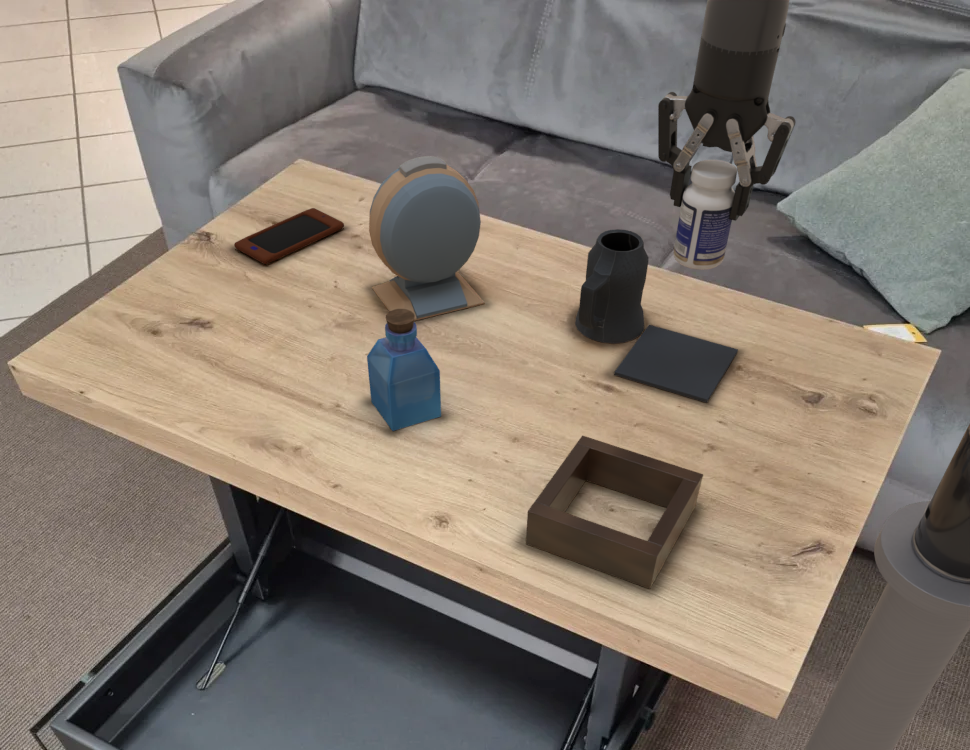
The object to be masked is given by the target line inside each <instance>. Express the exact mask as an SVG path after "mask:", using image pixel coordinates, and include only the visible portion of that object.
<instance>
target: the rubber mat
mask: <svg viewBox="0 0 970 750" xmlns="http://www.w3.org/2000/svg"><path fill="white" fill-rule="evenodd" d="M738 352H739V349H738V348H735V347H731V346H727V345H724V344H722V343H721V344H720V343H717V342H713V341H710V340H706V339H702V338H699V337H695V336H692V335H688V334H685V333H682V332H679V331H678V332H677V331H674V330H670V329H667V328H663V327H660V326H657V325H653V324H648V325H647V327H646V328H644V330H643V332H642V334H641V335H640V336H639V337H638V339H637V340H636V342H635V343H634V345H632V347H631V348H630V350H629V351H628V352H627V354H626V355H625V356H624V358H623V360H622V361H621V362H620V363H619V365H618V366H617V368H615V370H614V372H613V376H616V377H619V378H622V379H625V380H629V381H633V382H635V383H639V384H642V385H646V386H649V387H651V388H652V387H653V388H655V389H659V390H662V391H666V392H669V393H673V394H676V395H678V396H682V397H684V398H685V397H686V398H689V399H692V400H696V401H699V402H702V403H706V404H708V402H709V400H710V399H711V397H712V396H713V394H714V392H715V391H716V389H717V387H718V386H719V384H720V382H721V381H722V379H723V377H724V375H725V374H726V373H727V371H728V369H729V368H730V366H731V365H732V362H733V360H735V358H736V356H737V354H738Z"/></svg>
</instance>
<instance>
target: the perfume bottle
mask: <svg viewBox="0 0 970 750" xmlns="http://www.w3.org/2000/svg"><path fill="white" fill-rule="evenodd" d="M414 318H415V315H414V313H413V312H412V311H410V310H407V309H394V310H391V311H389V310H388V312H387V313H386V314H385V321H386V323H385V324H384V332H385V334H384V335H385V337H381V338H378V339H377V340H376V342H375V343H374V345H372V348H370V350H369V352H368V354H367V355H366V362H367V372H368V383H369V392H370V402H371V404H372V405H373V407H374V408H375V410H376V411H377V412H378V413H379V415H380V416H381V418H382V419H383V420H384V422H385V423H386V425H387V426H388V427H389V429H390V430H391V431H392V432H395V431H398V430H402V429H404V428H408V427H411V426H415V425H418V424H421V423H424V422H428V421H431V420H434V419H437V418H441V417H442V400H441V370H440V368H439V366H438V365H437V364H436V362H435V361H434V359H433V357H432V356H431V354H430V353H429V351H428V350H427V348H426V346H425V345H424V344H423V343H422V342H421V341H420V340H419V338H418V337H417V336H418V329H417V328H418V327H417V326H418V325H417V323H416V322H415V321H414Z"/></svg>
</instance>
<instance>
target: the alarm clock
mask: <svg viewBox="0 0 970 750" xmlns="http://www.w3.org/2000/svg"><path fill="white" fill-rule="evenodd" d="M398 166H399V167H398V168H397V169H395V170H394V171H392V172H390V174H388V175H387V176H386V178H385V179H384V180H383V181H382V182H381V184H380V185H379V187H378V189H377V190H376V192H375V194H374V196H373V198H372V201H371V205H370V208H369V220H368V221H369V222H368V227H369V228H368V232H369V237H370V242H371V246H372V247H373V249H374V251H375V253H376V255H377V257H378V258H379V260H381V262H382V263H383V264H384V266H385V267H387V269H388V270H389V271H390V272H391V273H392V274H393V275H395V276H394V277H392V278H391V279H389V280H388V281H386V282H384V283H380V284H376V285H373V286H371V289H372V290H373V292H374V293H375V294H376V296H377V297H378V299H379V300H380V301H381V302H382V304H383V305H384V307H385V308H386V309H387V310H388V312H389V311H391V310H394V309H407V310H410V311H412V312H413V313H414V315H415V318H414V322H415V321H419V320H424V319H428V318H432V317H436V316H441V315H443V314H449V313H453V312H457V311H461V310H464V309H465V310H466V309H470V308H473V307H477V306H482V305H485V301H484V300H483V298H482V297H481V296H480V295H479V294H478V293H477V292H476V290H475V289H473V287H472V286H471V285H470V284H469V283H468V281H467V280H466V279H465V278H464V277H463V276H462V275H461V274H460V273H459V271H460V269H461V268H462V267H464V265H466V263H467V262H468V261H469V259H470V258H471V256H472V254H473V253H474V252H475V249H476V247H477V243H478V241H479V237H480V232H481V224H482V221H481V212H480V211H481V210H480V204H479V201H478V200H479V199H478V198H477V195H476V193H475V190H474V188H473V187H472V186H471V185H470V183H469V182H468V181H467V180H466V178H465V177H464V176H463V175H461V173H460V172H458V171H457V170H456V169H454V168H453V167H451V166H450V165H448V164H447V162H445V161H444V159H443V158H441V157H439V156H433V155H424V156H418V157H417V156H416V157H413V158H411V159H409V160H406V161H405V162H402V163H401V164H400V165H398Z"/></svg>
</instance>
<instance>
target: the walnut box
mask: <svg viewBox="0 0 970 750" xmlns="http://www.w3.org/2000/svg"><path fill="white" fill-rule="evenodd" d="M703 477H704V474H703V473H701V472H697V471H694V470H691V469H688V468H685V467H681V466H679V465H675V464H673V463H669V462H667V461H663V460H660V459H658V458H654V457H651V456H648V455H644V454H641V453H638V452H635V451H633V450H629V449H626V448H623V447H619V446H616V445H614V444H610V443H608V442H604V441H601V440H599V439H595V438H591V437H589V436H586V435H581V436H580V438H579V439H578V440H577V442H576V443H575V444H574V446H573V448H572V449H571V451H570V452H569V453H568V455H567V456H566V458H565V459H564V460H563V462H562V463H561V464H560V466H559V467H558V468H557V470H556V471H555V473H554V474H553V476H552V477H551V478H550V479H549V481H548V483H547V484H546V485H545V486H544V488H543V489H542V490H541V492H540V494H539V495H538V496H537V498H536V499H535V501H534V502H533V503H532V505H531V506H530V507H529V509H528V510H527V517H526V533H525V545H528V546H530V547H533V548H536V549H539V550H541V551H544V552H547V553H550V554H551V555H552V554H553V555H555V556H557V557H561V558H563V559H565V560H569V561H572V562H575V563H577V564H579V565H582V566H586V567H589V568H591V569H594V570H597V571H599V572H602V573H604V574H607V575H610V576H612V577H615V578H619V579H621V580H624V581H627V582H630V583H632V584H635V585H637V586H639V587H643V588H645V589H648V590H650V589H651V588H652V587H653V585H654V583H655V581H656V579H657V577H658V575H659V574H660V572H661V570H662V568H663V566H664V565H665V563H666V561H667V559H668V557H669V555H670V553H671V552H672V550H673V548H674V547H675V545H676V543H677V541H678V539H679V537H680V536H681V534H682V532H683V530H684V528H685V526H686V524H687V523H688V521H689V519H690V517H691V515H692V514H693V512H694V510H695V508H696V506H697V503H698V502H697V501H698V497H699V494H700V489H701V487H702V486H701V485H702V481H703ZM586 482H588V483H592V484H594V485H598V486H601V487H604V488H606V489H610V490H612V491H615V492H619V493H622V494H625V495H628V496H631V497H633V498H637V499H640V500H642V501H645V502H649V503H651V504H654V505H657V506H660V507H663V508H665V510H664V511H663V513H662V515H661V517H660V518H659V520H658V522H657V524H656V525H655V527H654V529H653V530H652V532H651V534H650V535H649V538H648V539H647V540H646V539H643V538H640V537H637V536H634V535H632V534H631V535H630V534H628V533H625V532H622V531H619V530H616V529H615V528H611V527H608V526H605V525H603V524H599V523H596V522H594V521H592V520H588V519H585V518H582V517H580V516H576V515H574V514H571V513H568V512H566V511H567V509H568V508H569V506H570V505H571V503H572V502H573V501H574V499H575V498H576V496H577V494H578V493H579V492H580V490H581V489H582V487H583V485H584V484H585V483H586Z"/></svg>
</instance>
